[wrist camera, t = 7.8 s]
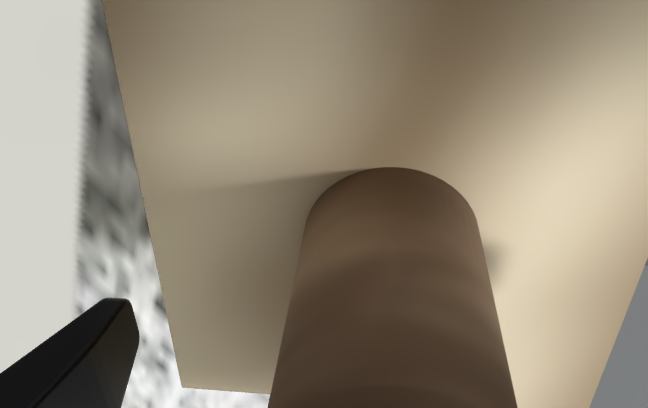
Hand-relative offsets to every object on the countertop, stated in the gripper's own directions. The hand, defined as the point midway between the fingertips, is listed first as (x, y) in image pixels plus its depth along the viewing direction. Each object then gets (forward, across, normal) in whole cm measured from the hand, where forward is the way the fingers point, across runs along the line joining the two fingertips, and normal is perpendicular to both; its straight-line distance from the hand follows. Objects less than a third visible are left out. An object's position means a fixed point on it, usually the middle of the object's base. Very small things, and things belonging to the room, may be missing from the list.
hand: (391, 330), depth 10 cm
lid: (+3, 0, 0) cm, 3 cm away
